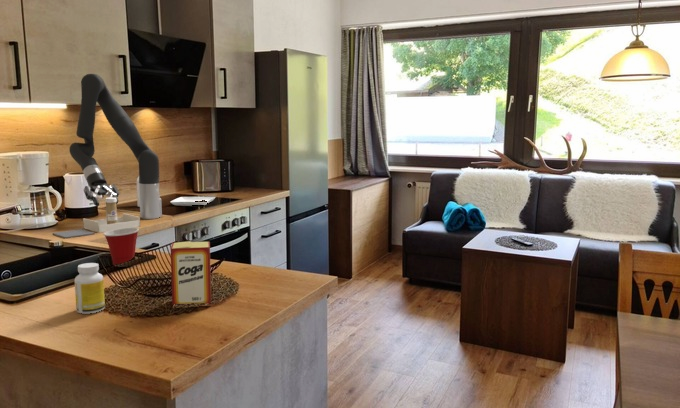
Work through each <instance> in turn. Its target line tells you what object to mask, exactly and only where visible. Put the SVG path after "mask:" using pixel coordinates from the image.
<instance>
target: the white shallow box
mask: <svg viewBox="0 0 680 408" xmlns="http://www.w3.org/2000/svg"><path fill="white" fill-rule="evenodd" d="M122 215H123V216H117V223H114V224H107V220H106V218H101V219H95V220H93V219H89V218H82V220H83V221H82V222H83V224H82V225H83V229H84V230H87V231H90V232H94V233H99V234H100V233H105V232H107V231H111V230H116V229H124V228H140V227H141V216H137V215H133V214H130V213H129V214H128V213H124V212H123V213H122Z"/></svg>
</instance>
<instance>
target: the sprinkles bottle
mask: <svg viewBox="0 0 680 408" xmlns="http://www.w3.org/2000/svg"><path fill="white" fill-rule="evenodd" d="M104 199H105V200H104V201H105V213H106V215H105V216H106V218H105V219H106V220H107V224H114V223H117V217H118V213H117V212H118V209H117V205H116V202H117V199H116V198H114V197H110V196H109V197H105V198H104Z"/></svg>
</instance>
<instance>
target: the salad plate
mask: <svg viewBox="0 0 680 408" xmlns="http://www.w3.org/2000/svg"><path fill="white" fill-rule="evenodd" d="M215 199H216V196H180V197H177V198H175V199H173V200H171V201H169V202H170V203H171V204H172V205H174V206H178V207H179V206H180V207H193V206H192V205H204V206H206V205H208V204H209V203H210V202H213V201H214V200H215ZM202 200H205V201H207V202H195V201H202ZM207 203H208V204H207Z"/></svg>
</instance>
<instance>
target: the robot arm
mask: <svg viewBox="0 0 680 408" xmlns="http://www.w3.org/2000/svg"><path fill="white" fill-rule="evenodd" d="M80 87H81V88H80V89H81V100H80V101H81V103H80V110H79V116H78V121H77V126H76V137H78V138H80V139H83V140H84V142H73V143H70V146H69V153H70V156H71V157H72V159H73V160H74V161H75V162H76V163H77V164H78V166H79V167H80V168H81V170H82V173H83V176H84V178H85V181H86V183H87V185H85V186H84V188H83V192H84V195H85V198H86V200H88V201H89V200H91V201H92V203H93V205H94V206H96V207H99V206H100V201H99V200H98V197H97V196H99V197H100V196H107V198H109V197H114V198H116V199H117V202H116V206H117V205H118V203H119V199H118V198H119V195H120V191H119V189H118V187H117V186H116V184H115V183H113V184H112V185H108V183H107V179H106V178H105V176H104V173H103V172H102V170H101V168H100V167H99V164H98V163H97V161H96V159H95V158H94V155H95V142H94V131H95V123H96V108H97V104H98V106H99V107H100V109H101V111H102V112H103V115H104V117H105V119H106V120H107V122H108V123H109V125H110V126H111V128H112V129H113V130H114V132H115V133H116V134H117V136H118V137H120V139H121V140H122V141H123V142H124V143H125V144H126V146H128V148H129V149H130V151H132V153H133V155H134V157H135V158H136V161H137V163H138V177H139V191H140V207H139V211H140V213H139V214H140V219H142V220H154V219H155V220H156V219H159V217H160V218H162V217H163V212H162V211H163V210H162V209H163V208H162V207H163V206H162V198H161V197H160V159H159V156H158V154H157V153H156V152H154V151H153V150H152V149H151V148H150V147H149V145H148V144H147V143H146V142H145V141H144V139H143V138H142V135H141V134H140V131H139V130H138V129H137V127H136V125H135V123H134V122H133V120H132V119H131V117H130V116H129V114H128V113H127V112H126V111H125V110H124V108H123V107H122V106H121V105H120V104H119V102H118V101H117V100H116V99H115V97H114V96H113V95H112V94H111V92H110V89H109V88H108V87H107V85H106V83H105V81H104V79H103V78H102V77H101V76H100V75H98V74H95V73H86V74H85V75H83V76H82V78H81V81H80ZM91 192H92V193H93V194H92V193H91ZM161 216H162V217H161Z"/></svg>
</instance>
